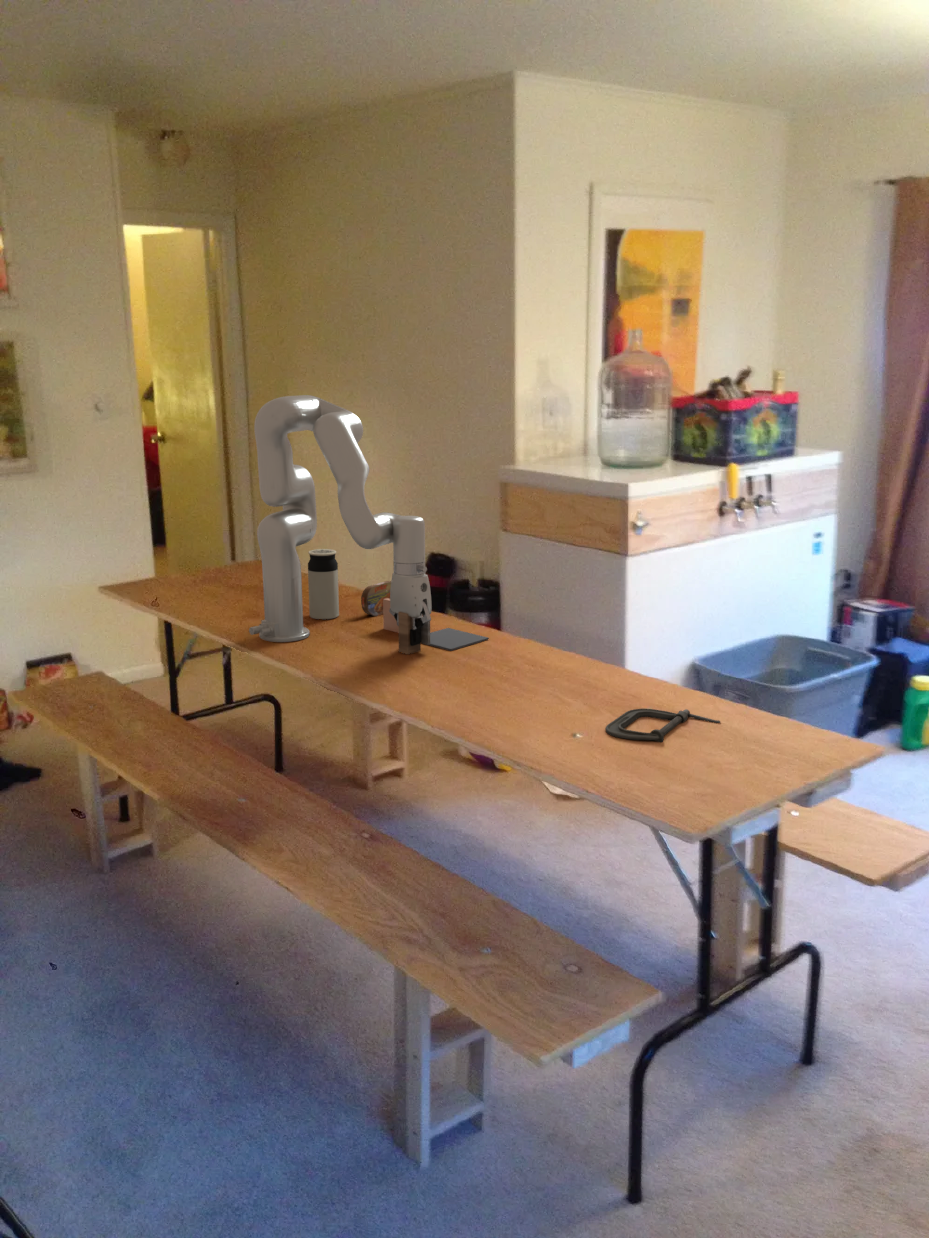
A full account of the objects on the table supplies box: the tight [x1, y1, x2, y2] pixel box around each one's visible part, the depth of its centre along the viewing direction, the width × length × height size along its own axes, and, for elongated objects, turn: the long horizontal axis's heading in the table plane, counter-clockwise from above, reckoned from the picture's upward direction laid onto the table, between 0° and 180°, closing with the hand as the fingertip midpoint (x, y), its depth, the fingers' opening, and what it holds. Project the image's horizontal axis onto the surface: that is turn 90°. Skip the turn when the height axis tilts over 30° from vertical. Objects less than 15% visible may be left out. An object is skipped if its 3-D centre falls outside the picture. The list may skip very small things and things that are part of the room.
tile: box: [382, 598, 399, 634], centre depth 275 cm, size 2×10×8 cm, turn 48°
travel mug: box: [307, 548, 340, 621], centre depth 288 cm, size 8×8×18 cm
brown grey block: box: [398, 612, 431, 655], centre depth 257 cm, size 5×8×10 cm, turn 48°
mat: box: [421, 627, 490, 652], centre depth 268 cm, size 14×14×1 cm
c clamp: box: [605, 708, 721, 743], centre depth 208 cm, size 20×17×3 cm
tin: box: [360, 580, 391, 617], centre depth 294 cm, size 15×3×8 cm, turn 143°
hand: (410, 642), depth 258 cm, fingers closed on brown grey block, 3 cm apart
